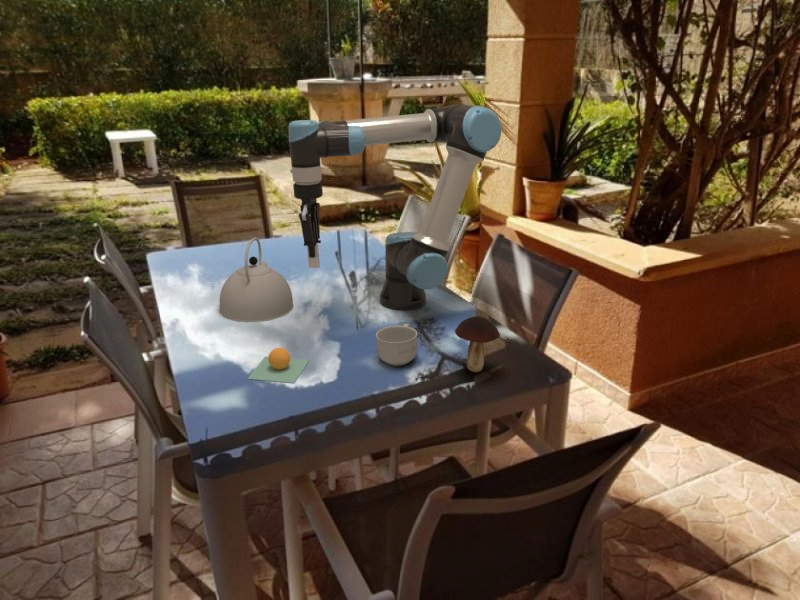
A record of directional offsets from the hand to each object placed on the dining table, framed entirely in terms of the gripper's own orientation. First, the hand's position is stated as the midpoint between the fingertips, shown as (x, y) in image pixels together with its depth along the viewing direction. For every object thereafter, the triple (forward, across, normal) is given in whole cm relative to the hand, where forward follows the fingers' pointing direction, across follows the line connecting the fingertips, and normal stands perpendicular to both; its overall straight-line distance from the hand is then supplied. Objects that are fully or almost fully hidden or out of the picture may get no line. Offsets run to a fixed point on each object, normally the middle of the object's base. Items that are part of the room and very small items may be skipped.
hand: (314, 267), depth 164 cm
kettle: (+20, -16, -24) cm, 35 cm away
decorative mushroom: (+21, +18, +45) cm, 53 cm away
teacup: (+21, +13, +25) cm, 35 cm away
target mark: (+19, +24, -5) cm, 31 cm away
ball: (+17, +23, -5) cm, 29 cm away
